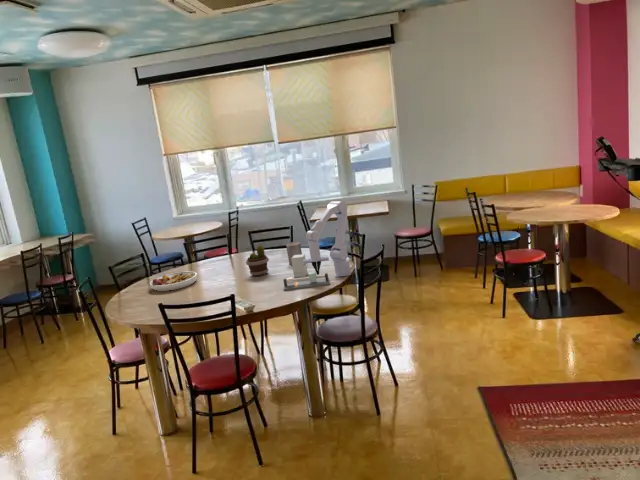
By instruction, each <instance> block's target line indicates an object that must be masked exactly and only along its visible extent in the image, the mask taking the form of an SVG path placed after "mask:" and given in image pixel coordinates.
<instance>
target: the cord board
mask: <svg viewBox="0 0 640 480" xmlns="http://www.w3.org/2000/svg"><path fill="white" fill-rule="evenodd" d="M316 279H317V281H314V282H309V276H305V277H296V278H294V276H293V277H292V276H291V277H287V278H283V292H284V291H285V292H286V291H292V290H300V289H308V288H315V287H323V286H330V278H329V274H328V272H325V273H324V274H319V275H316Z"/></svg>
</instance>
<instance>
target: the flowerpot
mask: <svg viewBox="0 0 640 480" xmlns="http://www.w3.org/2000/svg"><path fill="white" fill-rule="evenodd" d="M255 251H256V252H254V253H250V254H249V257H247V259H246V261H245V264H246V265H247V266H248V269H249V274H250V276H252V277H261V276H265V275H267V274H268V272H269V268H268V262H269V260H270V259H269V257H268V256H267V255H266V253H265V252H266V250H265V247H264V245H262V244H260V243H259V244H258V245H257V247H256V250H255Z"/></svg>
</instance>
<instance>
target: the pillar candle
mask: <svg viewBox="0 0 640 480" xmlns="http://www.w3.org/2000/svg"><path fill="white" fill-rule="evenodd" d="M285 246H286V252H287V258H288V264H289V265H290V266H292V260H291V258H292V257H293V256H294V255H302V254H303V252H302V251H303V250H302V246H301V242H300V241H292V242H289V243H287V244H286V245H285Z"/></svg>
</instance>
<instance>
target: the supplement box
mask: <svg viewBox="0 0 640 480" xmlns="http://www.w3.org/2000/svg"><path fill="white" fill-rule="evenodd" d="M291 260H292V265H291V266H292V273H293V274H292V275H293V279H297V278H304V277H307V274H308V273H309V272H308V265H307V263H306V264H304V263H303V260H307V259H306V254H305V253H302V255H294V256H293V257H292V258H291Z"/></svg>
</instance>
